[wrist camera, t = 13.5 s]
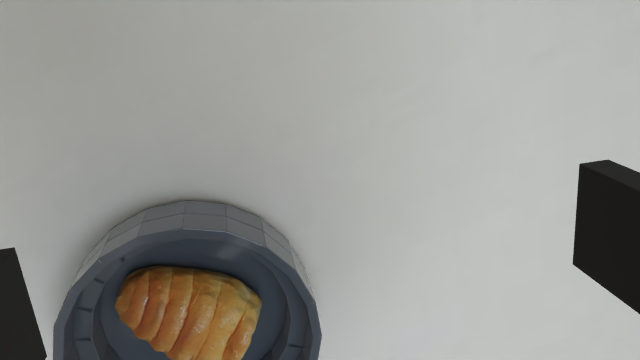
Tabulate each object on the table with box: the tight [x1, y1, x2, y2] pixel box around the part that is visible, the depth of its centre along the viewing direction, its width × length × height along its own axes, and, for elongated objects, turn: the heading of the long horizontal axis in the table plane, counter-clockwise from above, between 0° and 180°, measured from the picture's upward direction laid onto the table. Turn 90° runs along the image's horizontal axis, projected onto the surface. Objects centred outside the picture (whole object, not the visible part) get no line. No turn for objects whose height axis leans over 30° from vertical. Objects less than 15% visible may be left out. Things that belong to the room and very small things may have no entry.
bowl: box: [53, 201, 322, 360], centre depth 37 cm, size 16×16×6 cm
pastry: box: [114, 265, 262, 360], centre depth 37 cm, size 9×7×4 cm
